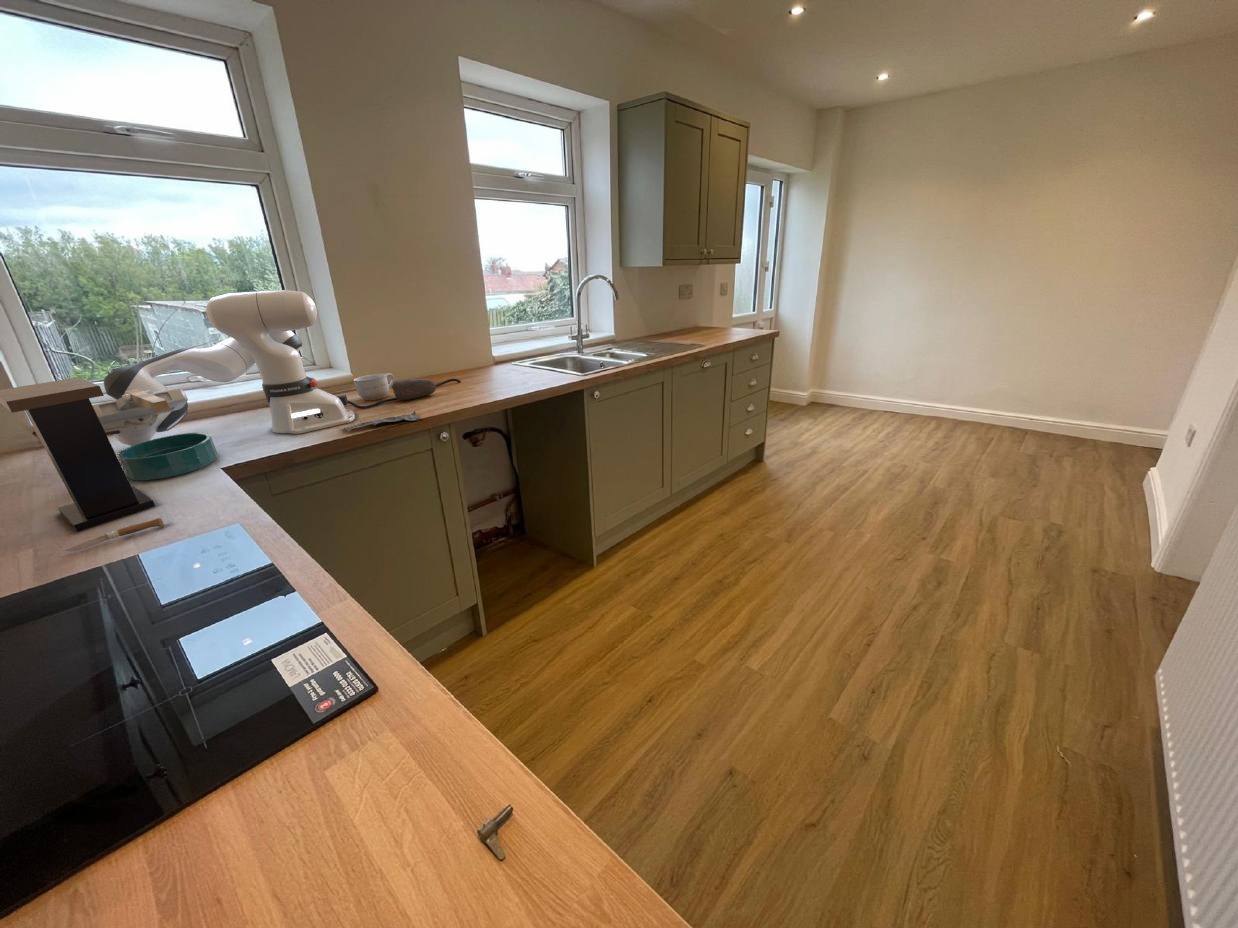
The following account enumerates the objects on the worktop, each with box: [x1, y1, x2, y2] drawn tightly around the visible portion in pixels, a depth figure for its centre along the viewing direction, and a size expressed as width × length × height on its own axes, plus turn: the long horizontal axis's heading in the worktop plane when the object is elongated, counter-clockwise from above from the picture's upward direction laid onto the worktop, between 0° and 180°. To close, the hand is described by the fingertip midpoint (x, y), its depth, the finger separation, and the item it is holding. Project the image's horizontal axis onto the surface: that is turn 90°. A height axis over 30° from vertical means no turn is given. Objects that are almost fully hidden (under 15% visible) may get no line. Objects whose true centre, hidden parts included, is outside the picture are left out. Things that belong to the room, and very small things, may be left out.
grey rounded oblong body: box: [391, 378, 437, 401], centre depth 176 cm, size 15×5×7 cm, turn 126°
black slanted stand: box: [0, 376, 156, 533], centre depth 100 cm, size 16×12×26 cm
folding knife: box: [63, 517, 165, 552], centre depth 92 cm, size 14×2×2 cm, turn 135°
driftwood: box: [343, 410, 420, 432], centre depth 151 cm, size 21×7×2 cm, turn 121°
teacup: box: [353, 372, 396, 401], centre depth 179 cm, size 14×11×8 cm
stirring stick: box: [125, 389, 170, 413], centre depth 119 cm, size 22×2×2 cm, turn 55°
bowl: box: [117, 432, 219, 481], centre depth 124 cm, size 18×18×6 cm
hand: (137, 395), depth 122 cm, fingers closed on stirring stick, 2 cm apart
